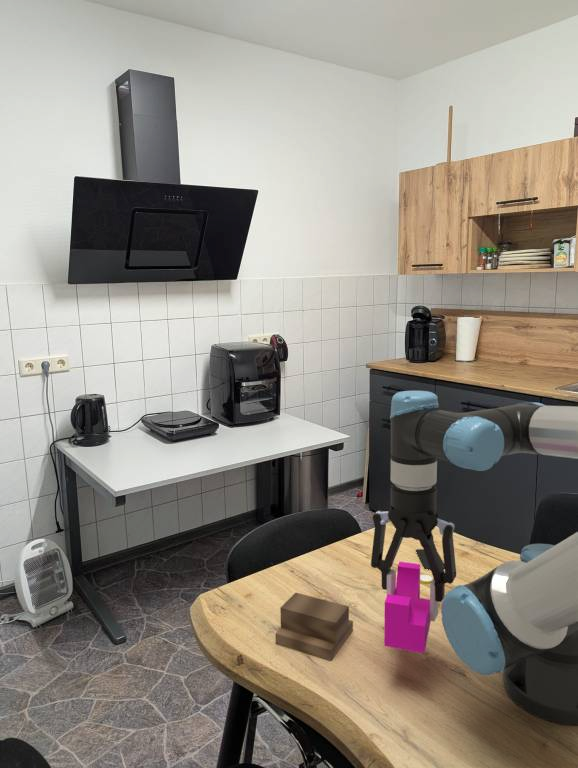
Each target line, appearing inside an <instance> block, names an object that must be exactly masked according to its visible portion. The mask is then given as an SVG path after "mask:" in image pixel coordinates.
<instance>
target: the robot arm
mask: <svg viewBox="0 0 578 768" xmlns="http://www.w3.org/2000/svg"><path fill="white" fill-rule="evenodd" d="M438 399H439V398H438V396H437V394H435V393H434V392H431V391H426V390H404V391H403V390H402V391H398V392H396V393H394V395H393V396H392V399H391V405H390V416H389V420H390V482H391V484H390V508H389V510H387V511H383V510H382V509H378V510H377V511H375V513H374V514H373V515H372V521H373V525H374V532H373V540H372V541H373V542H372V551H371V560H370V566H371V568H373V569H378V570H379V571H380V572H381V573H380V574H381V589H382V590H384V591H386V595H387V594H391V595H395V591H396V583H397V570H396V569H397V568H392V566H393V564H394V561H395V559H396V557H397V554H398V552H399V549H400V547H401V544H402V542H403V539H404V538H405V539H409V538H410V539H414V540H417V541H419V544H420V546H421V547H422V549H424V552H425V555H426V558H427V560H428V563H429V566H430V569H431V570H430V571H431V575H432V576H433V577H432V579H433V581H432V582H431V584H429V599H430V621H431V622H435V621H436V620H437V616H438V615H439V603H441V607H440V608H441V609H440V612H441V622H442V627H443V629H444V633H445V635H446V637H447V640H448V642H449V644H450V646H451V648H452V650H453V652H454V653H455V654H456V656H457V657H458V658H459V660H460V661H461V662H462V663H463V664H464V665H466V667H468V668H469V669H470V670H471V671H473V672H474V673H476V674H477V675H478V674H479V675H483V676H489V675H493V674H496V673H497V674H501V673H502V683H503V688H504V690H505V692H506V693H507V695H508V696H509V697H510V698H511V699H512V700H513V702H514V703H516V704H517V705H519V707H521V708H522V709H524V710H525V711H527V712H529V713H530V714H531V715H534V716H535V717H539V718H540V719H544V720H546V721H549V722H552V723H556V724H561V725H562V724H563V725H569V726H570V725H571V726H572V725H573V726H578V531H576V532H575V533H573V534H572V535H570V536H568V537H567V538H566V539H563V540H562V541H560V542H558V543H557V544H555V545H554V544H549V543H531V544H528V545H525V546H524V547H523V548H522V549H521V553H520V555H519V560H513V559H512V560H507V561H506V562H503V563H501V564H500V565H498V566H496V567H495V568H493V569H491V570H489V572H487V573H486V574H484V575H482V576H481V577H478V579H475V580H473V581H471V582H469V583H468V582H467V583H466V584H464V585H463V584H458V585H456V586H455V587H454V588H452V589H451V590H449V591H448V592H446V591H445V590H446V588H445V587H446V585H445V584H449V585H451V584H453V582H454V581H455V579H456V577H457V565H456V556H455V555H456V554H455V546H454V545H455V544H454V535H453V534H454V531H455V527H456V522H455V521H453V520H450V521H446V520H444V519H440V517H439V514H438V512H437V491H438V490H437V486H436V484H437V478H438V477H437V476H438V474H437V472H438V459H439V460H441V461H443V462H447V463H450V464H452V465H455V466H457V467H459V468H460V467H461V468H462V469H465V470H466V469H467V470H474V471H478V472H479V471H480V472H483V471H487V470H489V469H492V467H493V465H495V464H497V463H498V462H499V460H500V459H501V458H502V457H504V456H508V455H514V454H523V453H524V454H533V455H539V456H540V455H541V456H552V457H559V458H560V457H561V458H569V459H576V460H578V406H574V405H572V406H571V405H570V406H569V405H546V404H544V403H541V402H536V401H535V402H518V403H516V404H513V405H508V406H507V405H506V406H502V407H501V406H500V407H495V408H493V407H492V408H488V409H487V408H486V409H481V410H474V411H469V412H453V411H448V410H444V409H440V405H439V401H438ZM389 521H390V523H391V524H392V525H393V527H394V528H395V531H394V533H393V536H392V541H391V542H390V545H389V548H388V550H387V552H386V555H385V556H384V559H383V555H384V547H385V546H384V545H385V536H386V526H387V523H388V522H389ZM436 527H437V528H438V531H439V534H440V536H442V537H441V543H442V554H443V555H442V556H443V563H444V567H445V570H443V567H442V564H441V561H440V558H439V556H440V554H439V552H438V550H437V547H436V545H435V541H434V535H433V532H432V531H433V530H434V529H435V528H436ZM438 554H439V555H438ZM445 592H446V593H445Z"/></svg>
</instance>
